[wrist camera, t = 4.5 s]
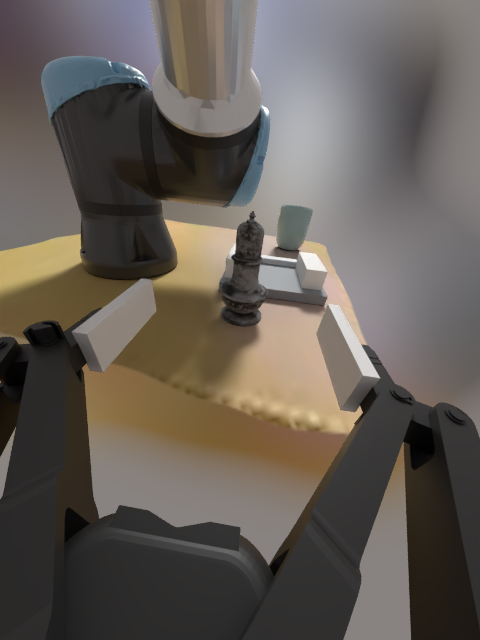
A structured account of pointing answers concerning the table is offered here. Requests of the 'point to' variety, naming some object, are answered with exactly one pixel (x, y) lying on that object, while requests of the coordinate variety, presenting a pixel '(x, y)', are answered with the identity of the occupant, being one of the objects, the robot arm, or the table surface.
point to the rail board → (288, 277)
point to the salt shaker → (245, 277)
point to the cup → (292, 226)
